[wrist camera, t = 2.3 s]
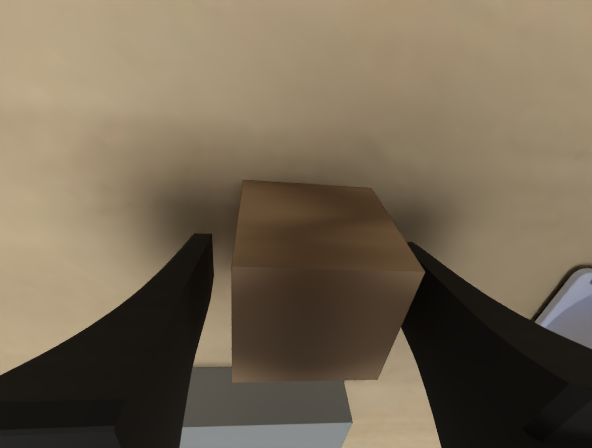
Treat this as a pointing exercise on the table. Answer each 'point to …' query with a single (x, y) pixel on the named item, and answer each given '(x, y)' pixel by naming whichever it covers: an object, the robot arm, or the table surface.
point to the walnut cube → (316, 283)
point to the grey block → (263, 412)
